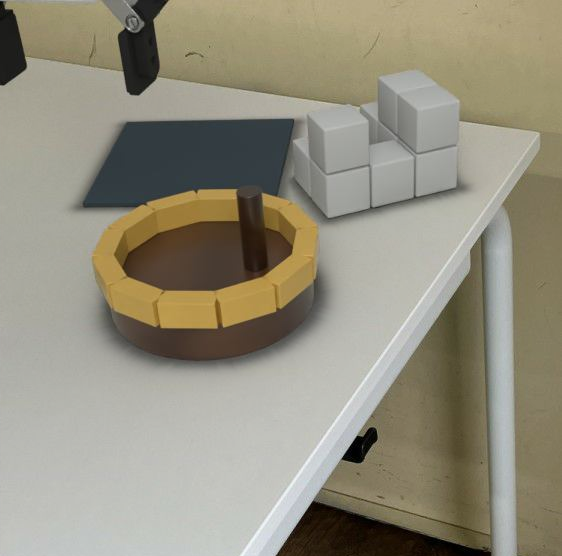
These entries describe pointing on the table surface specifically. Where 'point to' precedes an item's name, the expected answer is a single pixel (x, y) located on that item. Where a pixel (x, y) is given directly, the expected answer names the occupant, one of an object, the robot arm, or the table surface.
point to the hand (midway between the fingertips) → (75, 82)
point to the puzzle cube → (381, 147)
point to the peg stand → (213, 282)
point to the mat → (191, 159)
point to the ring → (204, 304)
